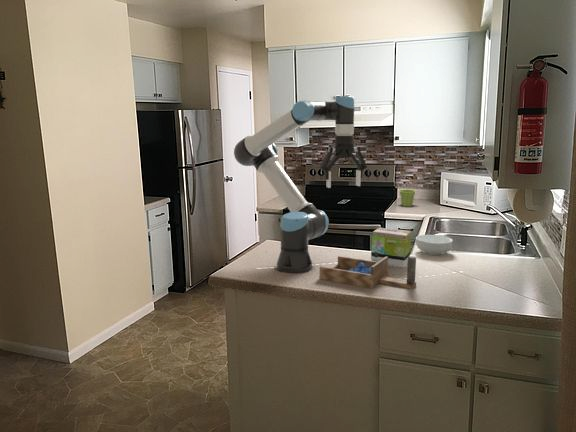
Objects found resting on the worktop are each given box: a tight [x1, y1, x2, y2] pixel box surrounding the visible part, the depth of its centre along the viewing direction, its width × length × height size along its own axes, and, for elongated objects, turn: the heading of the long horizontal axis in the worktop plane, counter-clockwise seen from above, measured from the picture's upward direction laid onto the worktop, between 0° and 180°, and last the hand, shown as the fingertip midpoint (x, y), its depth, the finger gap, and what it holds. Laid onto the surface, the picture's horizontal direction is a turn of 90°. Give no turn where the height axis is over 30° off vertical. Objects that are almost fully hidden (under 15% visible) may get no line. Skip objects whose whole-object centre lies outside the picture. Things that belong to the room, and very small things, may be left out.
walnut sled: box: [318, 255, 417, 290], centre depth 192 cm, size 36×18×12 cm, turn 59°
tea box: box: [370, 227, 412, 269], centre depth 214 cm, size 15×10×15 cm, turn 62°
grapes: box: [348, 262, 371, 274], centre depth 195 cm, size 12×7×12 cm
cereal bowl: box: [415, 234, 453, 256], centre depth 231 cm, size 17×17×7 cm
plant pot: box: [398, 189, 417, 208], centre depth 354 cm, size 12×12×11 cm
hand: (343, 186), depth 204 cm, fingers open, 13 cm apart
